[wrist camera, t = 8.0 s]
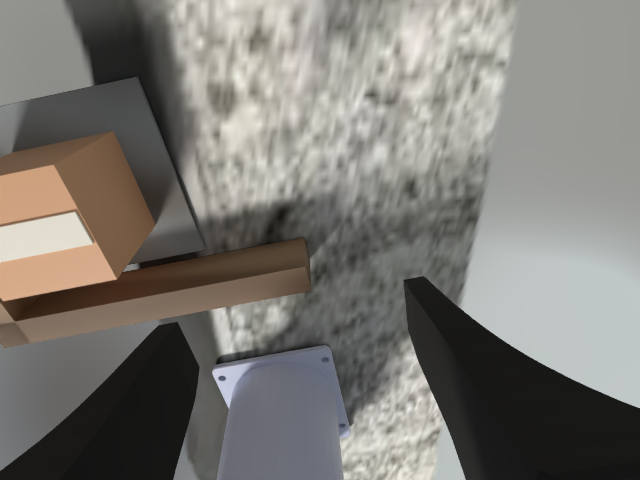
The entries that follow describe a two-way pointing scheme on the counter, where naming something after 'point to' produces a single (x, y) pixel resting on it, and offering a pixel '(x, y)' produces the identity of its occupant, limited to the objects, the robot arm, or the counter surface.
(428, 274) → the counter surface
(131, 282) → the corner frame
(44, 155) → the cube
